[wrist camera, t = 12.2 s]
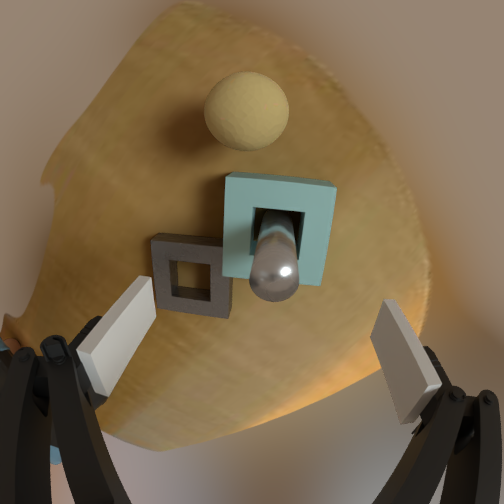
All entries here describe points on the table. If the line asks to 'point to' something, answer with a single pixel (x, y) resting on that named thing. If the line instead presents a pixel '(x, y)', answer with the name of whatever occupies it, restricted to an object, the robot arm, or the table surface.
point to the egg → (12, 345)
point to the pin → (275, 258)
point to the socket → (284, 198)
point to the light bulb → (246, 111)
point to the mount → (184, 298)
